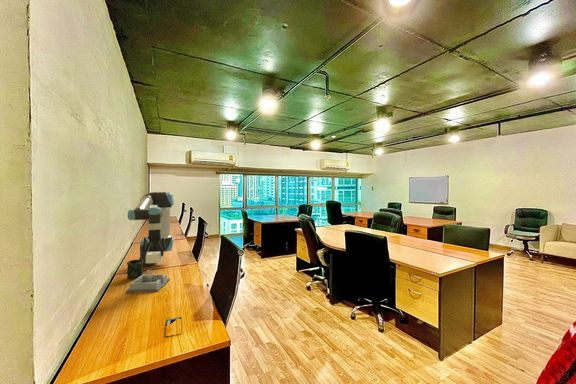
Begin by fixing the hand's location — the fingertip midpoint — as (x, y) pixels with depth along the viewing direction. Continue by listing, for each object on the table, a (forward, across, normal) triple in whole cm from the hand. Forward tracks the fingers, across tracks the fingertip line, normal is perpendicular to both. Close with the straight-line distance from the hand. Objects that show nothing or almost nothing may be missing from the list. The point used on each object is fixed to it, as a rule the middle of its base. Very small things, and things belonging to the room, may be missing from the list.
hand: (154, 261), depth 168 cm
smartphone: (+18, +32, -57) cm, 68 cm away
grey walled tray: (+16, -2, -4) cm, 17 cm away
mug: (+16, -19, +14) cm, 29 cm away
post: (+15, -2, -4) cm, 15 cm away
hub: (0, 0, +3) cm, 3 cm away
